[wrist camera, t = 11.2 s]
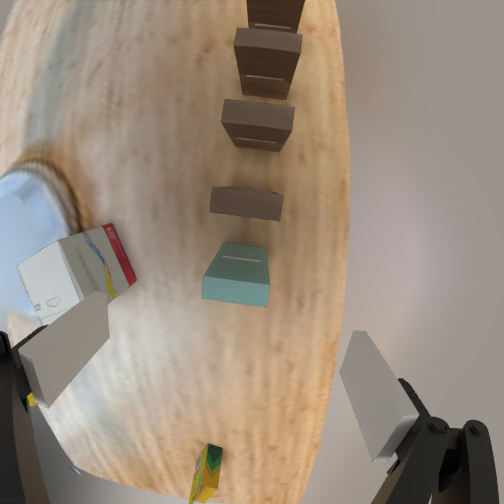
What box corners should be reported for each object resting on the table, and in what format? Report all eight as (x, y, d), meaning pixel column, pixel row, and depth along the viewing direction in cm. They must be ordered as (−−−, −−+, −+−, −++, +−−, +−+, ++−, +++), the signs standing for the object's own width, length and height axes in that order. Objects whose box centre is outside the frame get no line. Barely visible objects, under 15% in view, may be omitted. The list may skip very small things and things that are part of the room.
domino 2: (245, 80, 30) (237, 27, 17) (287, 86, 30) (302, 34, 17) (243, 95, 30) (233, 45, 17) (285, 100, 30) (300, 53, 17)
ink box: (112, 220, 34) (56, 237, 22) (138, 281, 35) (94, 320, 24) (68, 245, 35) (12, 267, 23) (92, 299, 36) (45, 336, 25)
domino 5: (223, 242, 34) (203, 275, 21) (266, 247, 34) (270, 284, 21) (222, 257, 34) (201, 298, 22) (264, 263, 34) (266, 307, 22)
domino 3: (237, 131, 31) (224, 98, 18) (281, 136, 31) (294, 106, 18) (235, 147, 31) (220, 122, 19) (279, 152, 31) (291, 131, 19)
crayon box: (210, 465, 44) (203, 511, 32) (196, 460, 44) (186, 507, 32) (223, 447, 42) (217, 498, 31) (208, 442, 42) (198, 494, 31)
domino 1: (252, 37, 28) (248, -25, 15) (292, 42, 28) (307, -18, 15) (250, 49, 29) (245, -12, 16) (291, 54, 29) (306, -5, 16)
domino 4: (230, 186, 32) (212, 186, 20) (274, 191, 32) (283, 195, 20) (228, 202, 33) (209, 212, 20) (271, 208, 33) (279, 221, 20)
